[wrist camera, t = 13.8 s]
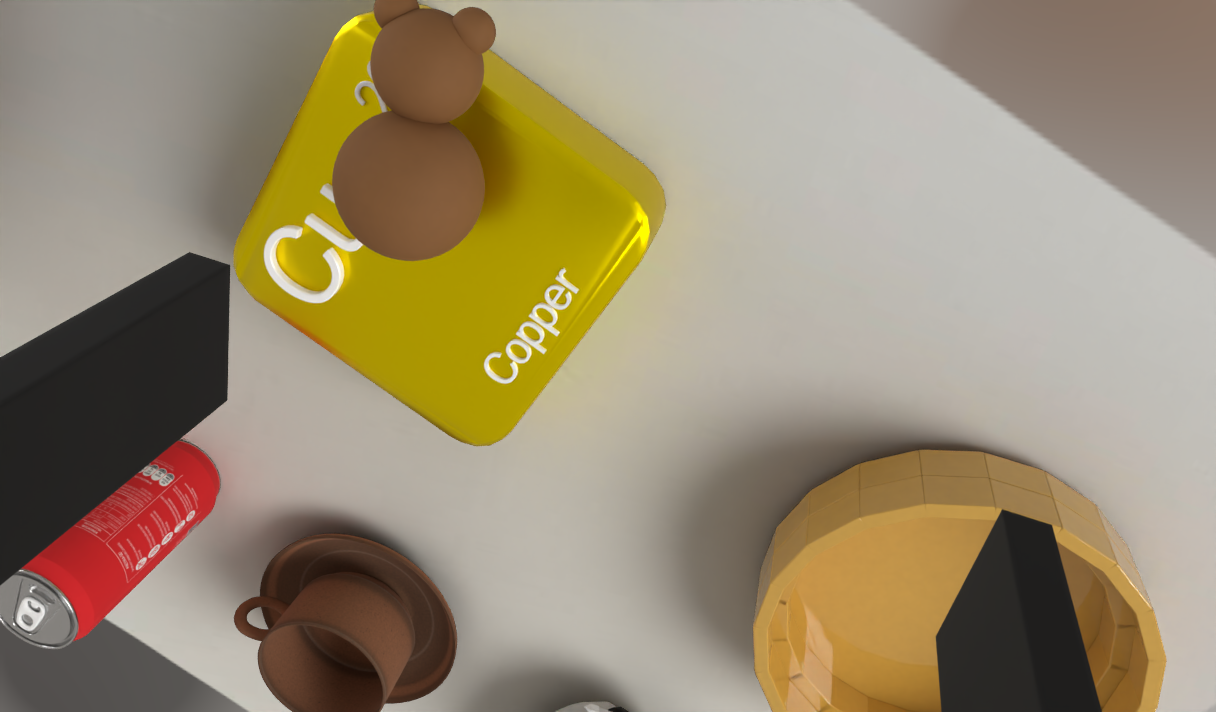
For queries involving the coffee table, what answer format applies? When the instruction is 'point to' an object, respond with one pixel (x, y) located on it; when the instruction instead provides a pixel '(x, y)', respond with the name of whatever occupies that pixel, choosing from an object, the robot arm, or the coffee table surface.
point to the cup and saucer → (349, 626)
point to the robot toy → (592, 707)
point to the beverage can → (109, 550)
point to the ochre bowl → (931, 584)
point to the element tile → (468, 273)
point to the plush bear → (416, 135)
